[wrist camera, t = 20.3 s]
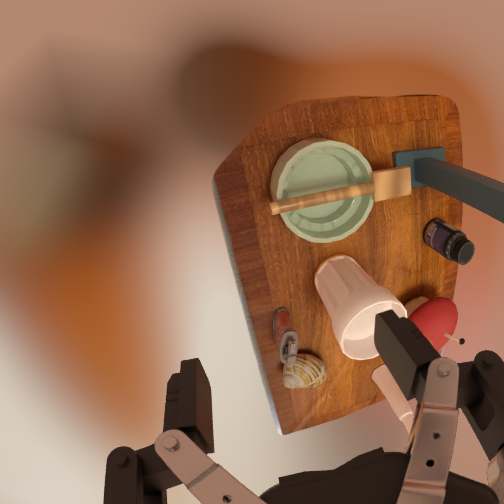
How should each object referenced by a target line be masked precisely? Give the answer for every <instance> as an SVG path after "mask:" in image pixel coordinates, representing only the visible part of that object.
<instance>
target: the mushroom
mask: <svg viewBox="0 0 504 504" xmlns="http://www.w3.org/2000/svg"><path fill="white" fill-rule="evenodd" d="M404 308H405V309H406V310H407V318H408V319H409V320H411V321H413V322H414V323H415V325H416V326H417V327H418V328H419V330H420V331H421V332H422V333H423V334H424V336H425V337H426V338H427V339H428V340H429V342H430V343H431V344H432V345H433V347H434V348H435V349H436V351H438V350H439V349H440V348H441V347H443V346H444V344H445V343H446V342H447V341H448V340H449V339H452V340H455V341H459V342H460V344H461V345H462V344H464V342H465V340H464V339H463V338H462V339H460V340H457V339H455V338H454V337H452V334H453V332H454V330H455V327H456V324H457V318H458V312H457V309H456V305H455V304H454V303H453V302H452V301H451V300H450V299H448V298H443V297H437V298H433V299H430V300H429V299H427V298H426V297H422V296H418V297H414V298H412V299H410V300H409V301H407V302H406V303H405V305H404Z"/></svg>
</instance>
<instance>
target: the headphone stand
mask: <svg viewBox="0 0 504 504" xmlns="http://www.w3.org/2000/svg"><path fill="white" fill-rule="evenodd" d="M392 155H393V168H396V167H402V166H408V167H410V171H411V189H413V188H419V187H424V186H429V187H432V188H434V189H436V190H438V191H440V192H443V193H445V194H447V195H449V196H451V197H453V198H455V199H458V200H460V201H462V202H464V203H466V204H468V205H470V206H472V207H474V208H476V209H478V210H480V211H482V212H483V213H486V214H487V215H489V216H491V217H493V218H495V219H497V220H498V221H500V222H502V223H504V183H502V182H499V181H497V180H494V179H492V178H489V177H486V176H484V175H481V174H479V173H476V172H473V171H470V170H467V169H465V168H462V167H459V166H456V165H453V164H450V163H447V162H445V148H443V147H435V148H425V149H416V150H407V151H398V152H392Z"/></svg>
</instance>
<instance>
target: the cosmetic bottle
mask: <svg viewBox="0 0 504 504" xmlns="http://www.w3.org/2000/svg"><path fill="white" fill-rule="evenodd" d="M371 378H372V379H373V381H374V382H375V383H376V384H377V385H378V387H379V388H380V390H381V391H382V392H383V394H384V395H385V397H386V399H387V400H388V402H389V404H390V405H391V407H392V408H393V410H394V412H395V413H396V415H397V417H398V418H399V420H400V421H403V423H404V425H405V427H406V429H407V431H408V433H409V434H410V430H411V427H412V423H413V418H414V417H413V415H412V414H413V412H412V409H411V407H410V406H409V403H408V401H407V400H406V398H405V396H404V395H403V393H402V391H401V390H400V388H399V386H398V384H397V383H396V381H395V379H394V378H393V376H392V374H391V373H390V371H389V370H388V368H387V366H386V365H385V364H384V365H381V366H379V367H378V368H376V369H375V370H374V371H373V373H372V375H371Z"/></svg>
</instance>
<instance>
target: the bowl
mask: <svg viewBox="0 0 504 504" xmlns="http://www.w3.org/2000/svg"><path fill="white" fill-rule="evenodd" d="M370 172H372V169H371V167H370V164H369V162H368V161H367V160H366V159H365V158H364V156H363V155H362V154H361V153H360V152H359V151H358V150H356V149H355V148H353V147H351V146H350V145H348V144H346V143H343V142H339V141H335V140H330V139H325V138H318V137H317V138H311V139H304V140H302V141H300V142H298V143H296V144H294V145H292V146H290V147H289V148H288V149H287V150H286V151H285V152H284V153H283V154H282V155H281V156H280V157H279V159H278V161H277V163H276V165H275V167H274V169H273V171H272V176H271V183H270V191H271V197H272V202H274V201H279V200H284V199H288V198H293V197H297V196H302V195H307V194H312V193H316V192H321V191H326V190H331V189H336V188H341V187H346V186H351V185H356V184H362V183H367V182H370ZM373 202H374V201H373V200H372V196H371V194H368V195H363V196H359V197H354V198H349V199H344V200H339V201H335V202H330V203H325V204H321V205H316V206H311V207H307V208H302V209H298V210H293V211H289V212H284V213H280V214H279V215H280V216H281V218H282V219H283V221H284V223H285V224H286V226H287V227H288V228H289V229H291V230H292V231H293V232H294V233H295V234H296V235H297V236H299V237H301V238H303V239H306V240H308V241H311V242H318V243H329V242H334V241H338V240H342V239H343V238H345V237H347V236H349V235H350V234H352V233H354V232H355V231H356V230H357V229H358V228H359V227H360V226H361V225H362V224H363V223H364V222H365V220H366V218H367V216H368V215H369V213H370V211H371V209H372V206H373Z"/></svg>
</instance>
